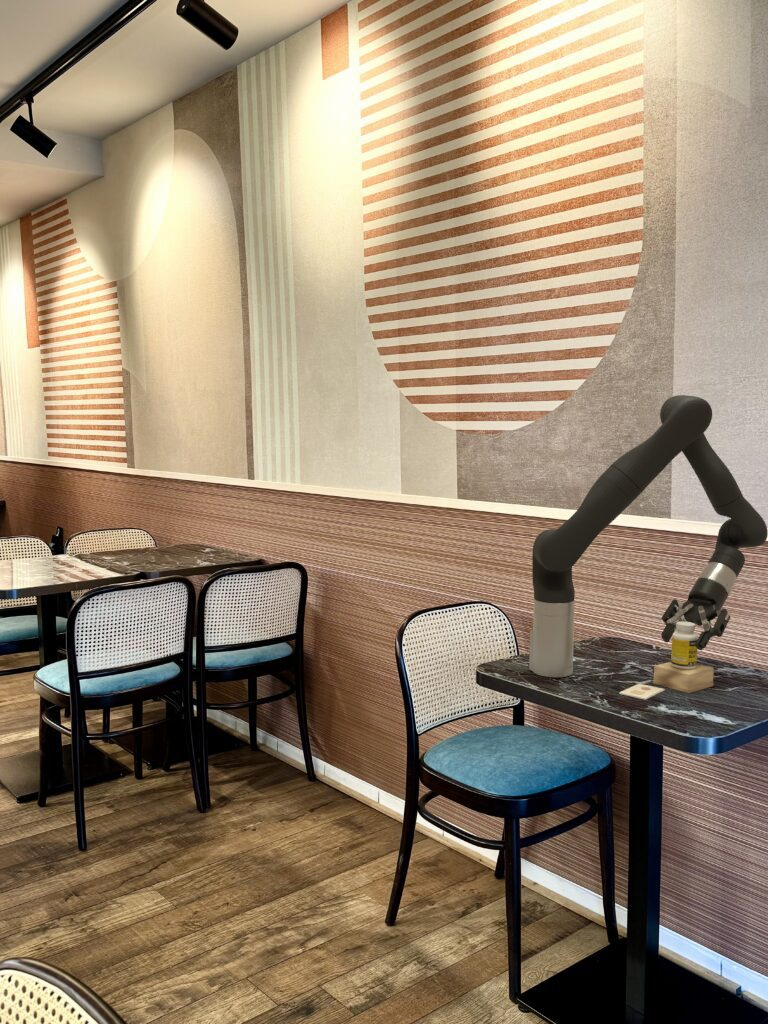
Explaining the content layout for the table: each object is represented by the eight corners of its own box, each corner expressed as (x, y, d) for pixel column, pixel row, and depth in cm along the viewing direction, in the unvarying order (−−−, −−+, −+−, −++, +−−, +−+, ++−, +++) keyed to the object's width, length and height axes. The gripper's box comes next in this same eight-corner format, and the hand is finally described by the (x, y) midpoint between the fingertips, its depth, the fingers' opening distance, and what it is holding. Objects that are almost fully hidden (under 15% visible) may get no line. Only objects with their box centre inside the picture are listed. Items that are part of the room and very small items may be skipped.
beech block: (652, 683, 201) (653, 665, 200) (677, 676, 206) (678, 659, 206) (688, 693, 193) (689, 675, 193) (713, 685, 199) (714, 668, 198)
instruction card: (619, 693, 193) (619, 692, 193) (638, 684, 199) (639, 683, 199) (645, 699, 189) (645, 697, 189) (664, 690, 195) (664, 688, 195)
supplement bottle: (690, 671, 196) (692, 627, 195) (666, 666, 199) (668, 623, 198) (700, 666, 200) (702, 623, 199) (676, 662, 203) (678, 619, 202)
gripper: (679, 572, 208) (646, 628, 202) (735, 581, 196) (703, 640, 190) (691, 592, 211) (660, 647, 205) (748, 602, 200) (716, 660, 194)
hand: (681, 644), depth 198 cm, fingers open, 8 cm apart
